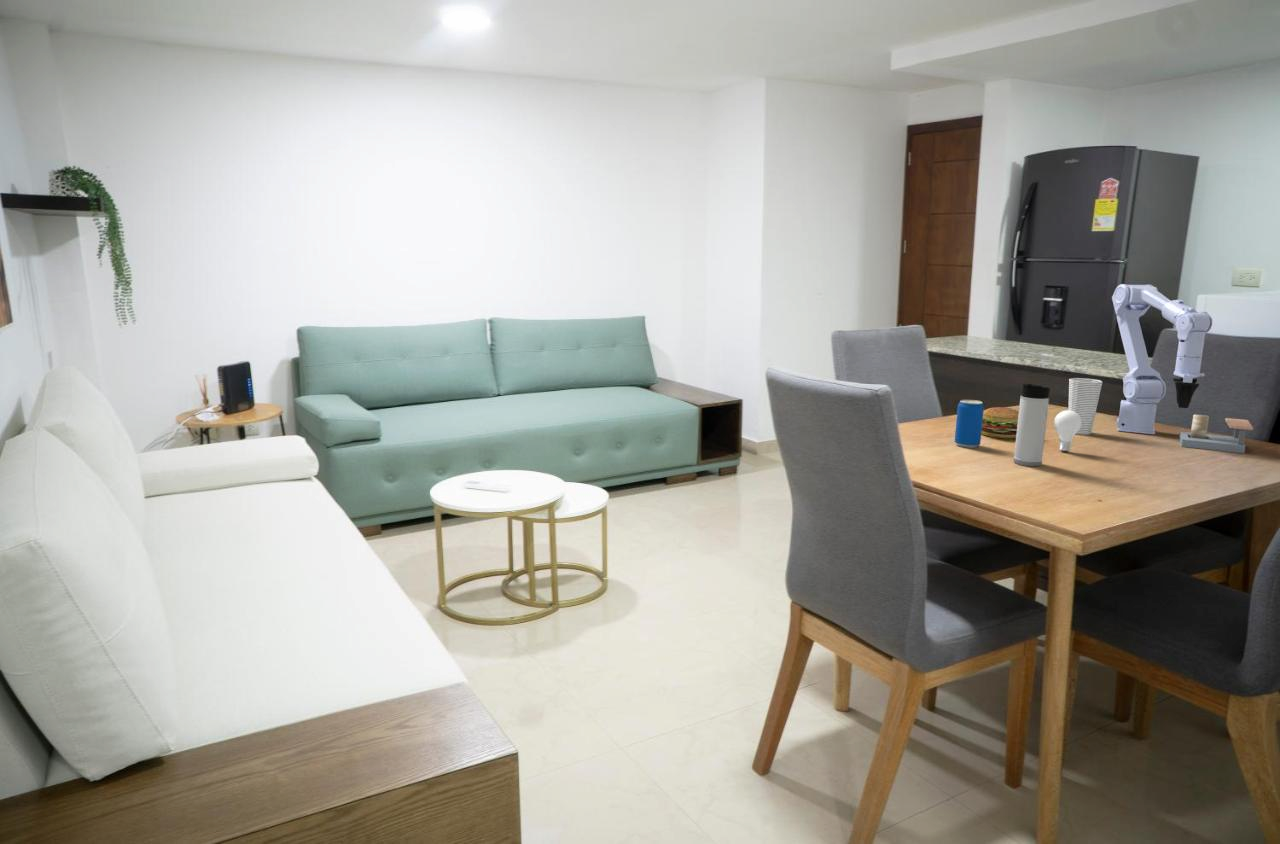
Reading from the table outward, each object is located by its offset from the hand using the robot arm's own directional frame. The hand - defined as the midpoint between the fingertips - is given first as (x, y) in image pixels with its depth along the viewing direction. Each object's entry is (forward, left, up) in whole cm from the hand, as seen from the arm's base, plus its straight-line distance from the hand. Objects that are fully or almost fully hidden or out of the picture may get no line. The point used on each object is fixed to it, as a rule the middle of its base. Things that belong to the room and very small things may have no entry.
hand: (1182, 405), depth 229 cm
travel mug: (-33, -51, -11) cm, 62 cm away
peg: (+5, +1, -10) cm, 11 cm away
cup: (-24, -1, -11) cm, 26 cm away
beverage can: (-49, -38, -11) cm, 63 cm away
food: (-43, -18, -11) cm, 48 cm away
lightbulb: (-26, -31, -11) cm, 42 cm away
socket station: (+8, +1, -10) cm, 13 cm away
